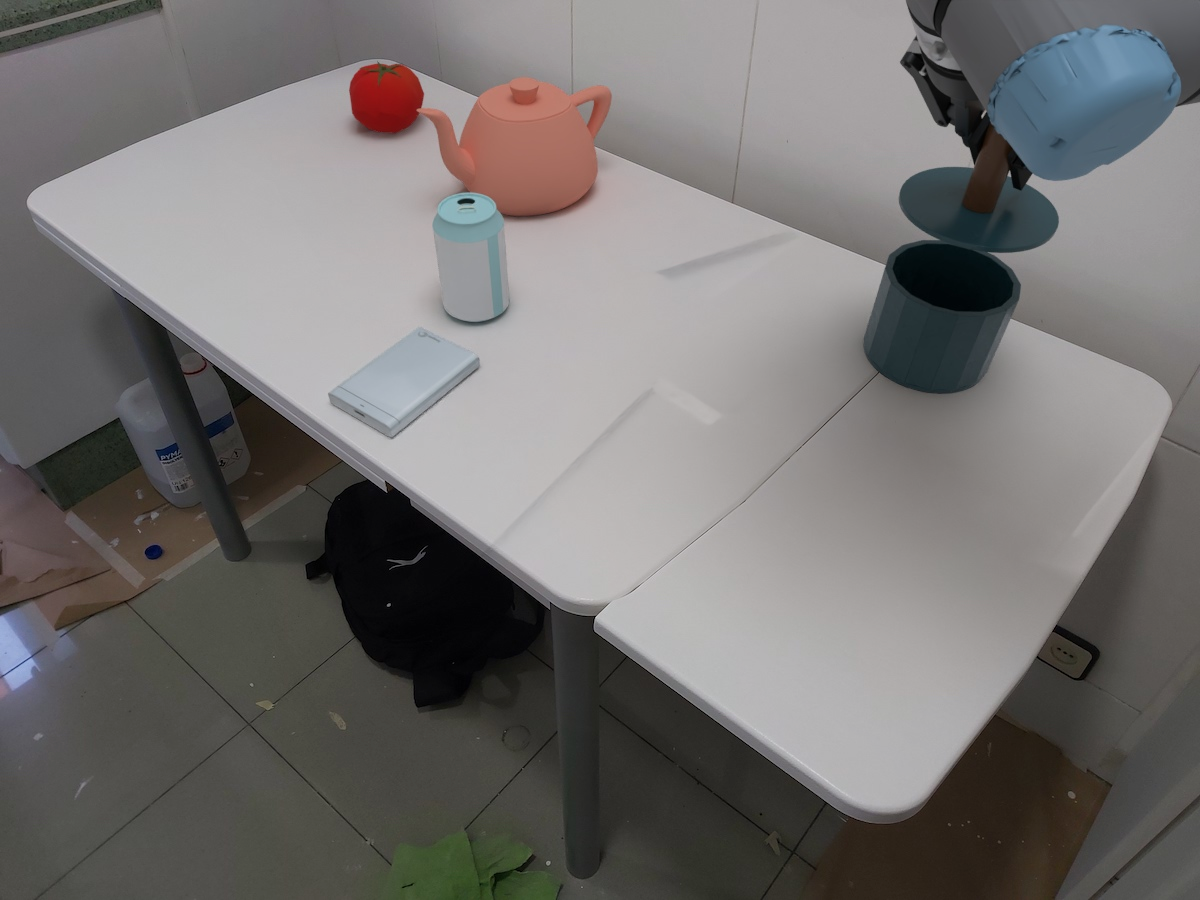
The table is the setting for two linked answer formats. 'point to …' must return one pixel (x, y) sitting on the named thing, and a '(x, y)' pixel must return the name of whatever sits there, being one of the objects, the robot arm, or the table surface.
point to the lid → (979, 204)
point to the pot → (939, 315)
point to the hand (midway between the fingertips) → (1007, 167)
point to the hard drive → (404, 381)
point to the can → (471, 257)
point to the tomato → (385, 97)
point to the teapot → (525, 145)
